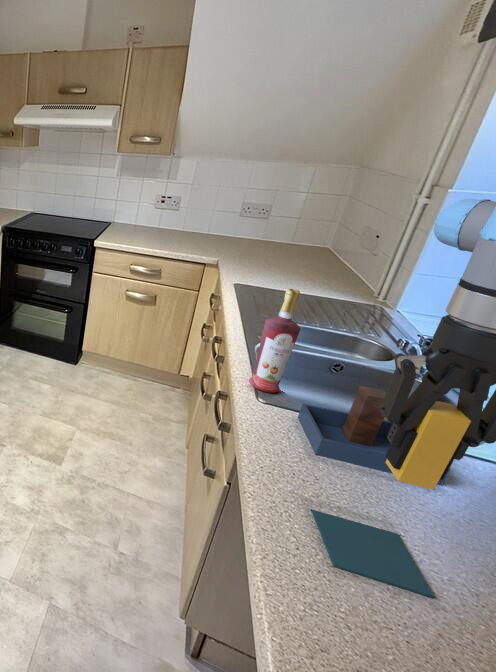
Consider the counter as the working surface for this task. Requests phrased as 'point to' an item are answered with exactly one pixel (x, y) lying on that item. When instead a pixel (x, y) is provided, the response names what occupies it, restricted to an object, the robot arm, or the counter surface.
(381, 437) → the bin
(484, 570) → the counter surface
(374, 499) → the counter surface
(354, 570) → the mat
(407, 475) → the mustard piece
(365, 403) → the walnut piece
